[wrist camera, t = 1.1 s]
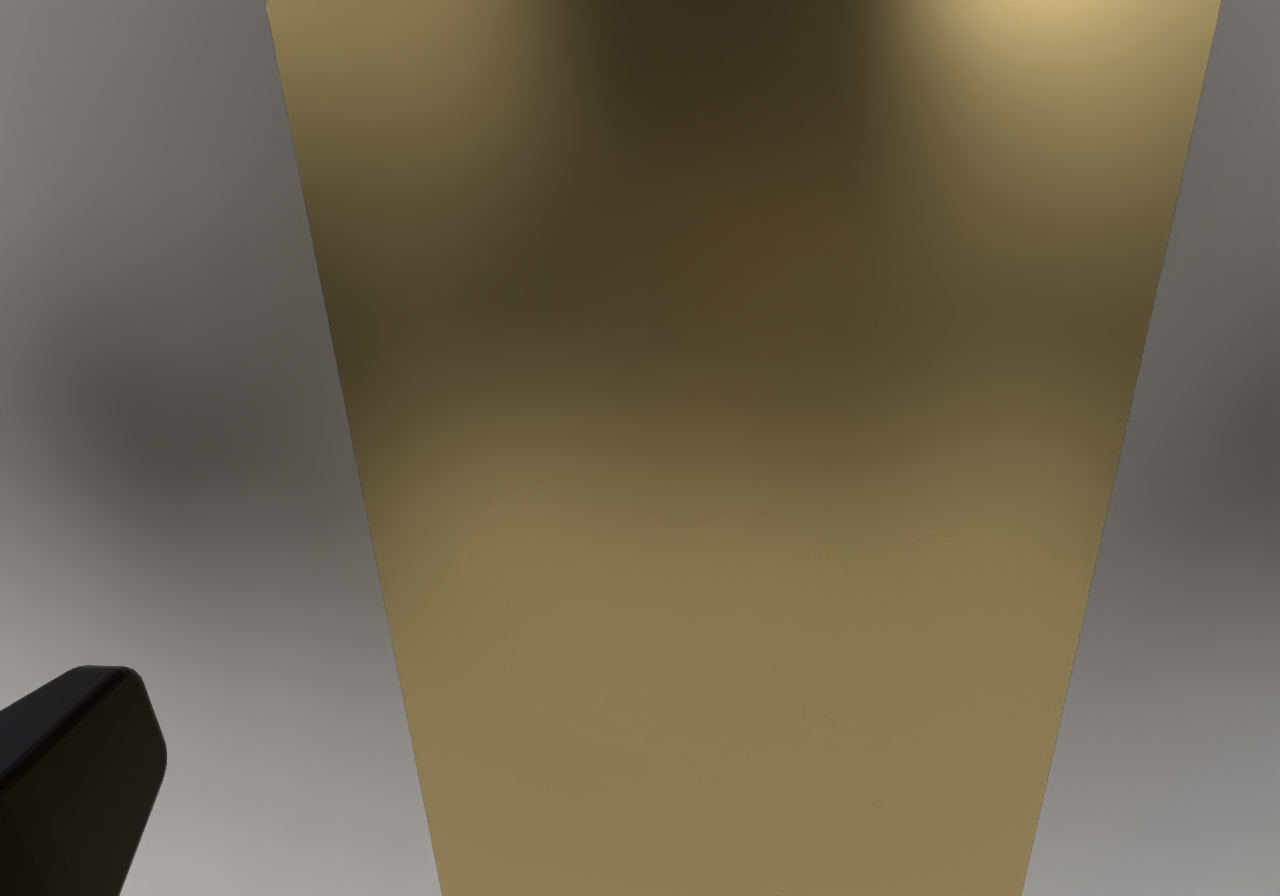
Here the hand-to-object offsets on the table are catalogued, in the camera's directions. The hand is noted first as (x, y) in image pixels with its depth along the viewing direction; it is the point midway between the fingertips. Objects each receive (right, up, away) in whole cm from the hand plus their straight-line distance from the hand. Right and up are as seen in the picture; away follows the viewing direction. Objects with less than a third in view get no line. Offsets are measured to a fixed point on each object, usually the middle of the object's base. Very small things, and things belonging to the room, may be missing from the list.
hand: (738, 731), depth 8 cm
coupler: (0, +2, +4) cm, 4 cm away
